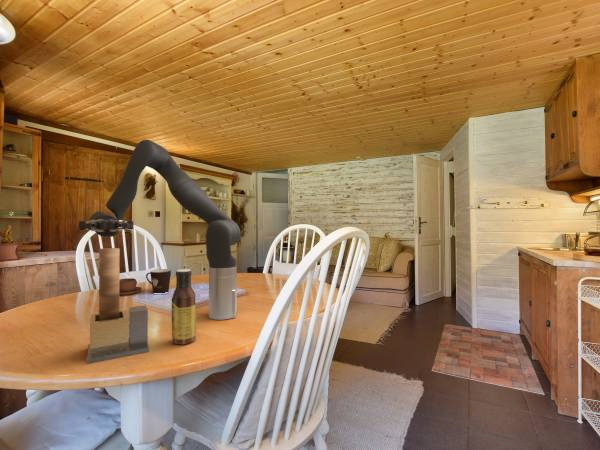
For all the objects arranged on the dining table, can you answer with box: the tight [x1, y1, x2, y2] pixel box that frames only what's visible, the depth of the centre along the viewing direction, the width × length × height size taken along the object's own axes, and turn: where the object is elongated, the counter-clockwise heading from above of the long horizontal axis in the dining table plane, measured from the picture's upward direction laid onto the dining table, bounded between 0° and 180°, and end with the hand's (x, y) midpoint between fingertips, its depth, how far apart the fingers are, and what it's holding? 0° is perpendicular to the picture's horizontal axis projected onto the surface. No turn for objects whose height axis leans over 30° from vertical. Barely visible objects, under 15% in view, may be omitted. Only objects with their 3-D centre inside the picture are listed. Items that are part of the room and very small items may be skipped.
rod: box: [98, 247, 121, 321], centre depth 80 cm, size 4×4×22 cm
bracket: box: [86, 304, 150, 364], centre depth 81 cm, size 10×13×10 cm
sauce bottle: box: [171, 268, 197, 345], centre depth 87 cm, size 7×6×20 cm
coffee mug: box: [145, 268, 172, 294], centre depth 143 cm, size 12×9×10 cm
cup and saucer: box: [119, 277, 143, 296], centre depth 140 cm, size 12×12×6 cm
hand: (107, 225), depth 92 cm, fingers open, 8 cm apart
